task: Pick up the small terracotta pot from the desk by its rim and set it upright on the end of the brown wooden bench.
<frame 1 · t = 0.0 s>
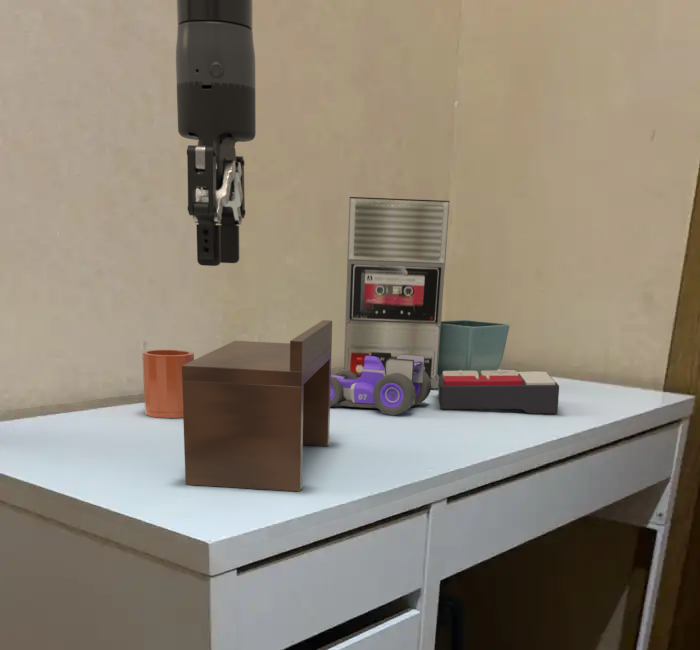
hand: (219, 264, 96), 17 cm above the table, tool pointing down, fingers open, 8 cm apart
pot: (170, 413, 111), on the table
flower pot: (463, 386, 141), on the table, touching cassette tape recorder
cassette tape recorder: (389, 386, 138), on the table, touching flower pot
brown wooden bench: (264, 462, 89), on the table
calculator: (494, 406, 125), on the table
toy race car: (364, 407, 121), on the table
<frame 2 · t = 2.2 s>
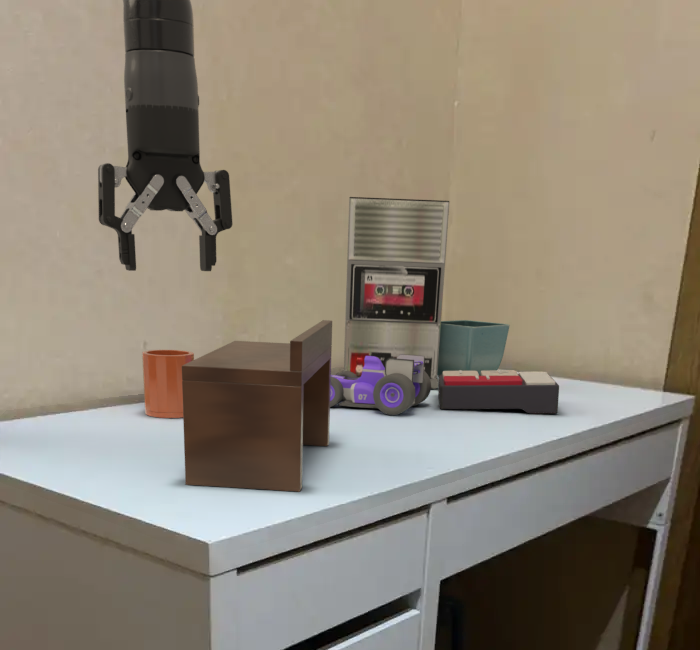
hand: (168, 270, 104), 16 cm above the table, tool pointing down, fingers open, 8 cm apart
nothing on the table moved.
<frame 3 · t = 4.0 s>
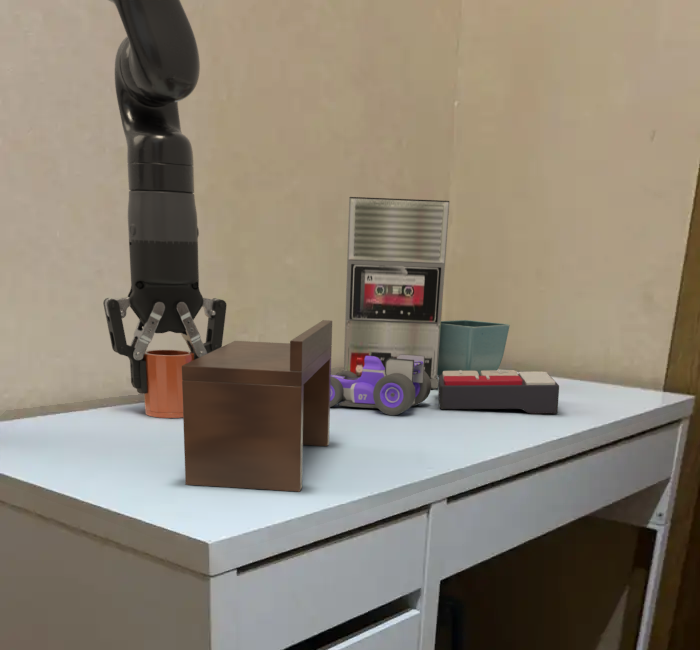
hand: (169, 391, 110), 3 cm above the table, tool pointing down, fingers closed on pot, 6 cm apart
pot: (170, 413, 111), on the table, touching gripper
everything else where it was.
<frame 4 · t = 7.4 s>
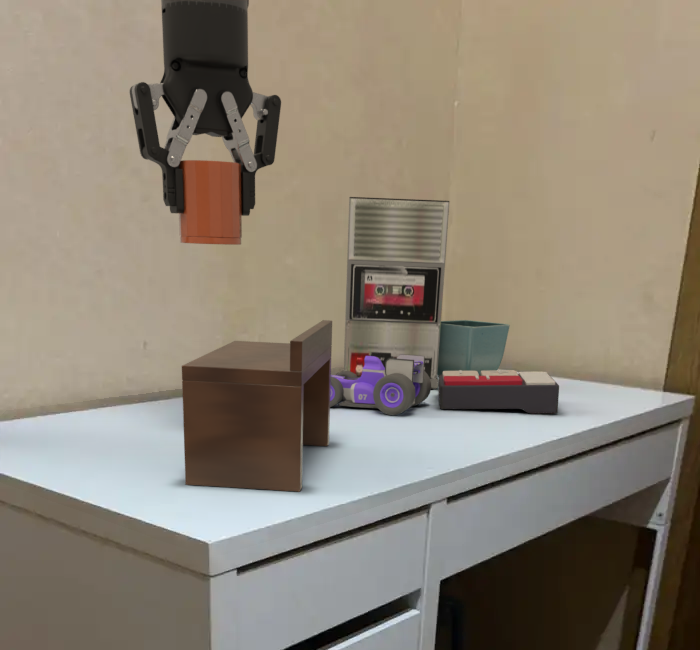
hand: (210, 213, 89), 22 cm above the table, tool pointing down, fingers closed on pot, 6 cm apart
pot: (210, 243, 90), point 19 cm above the table, touching gripper
everything else where it was.
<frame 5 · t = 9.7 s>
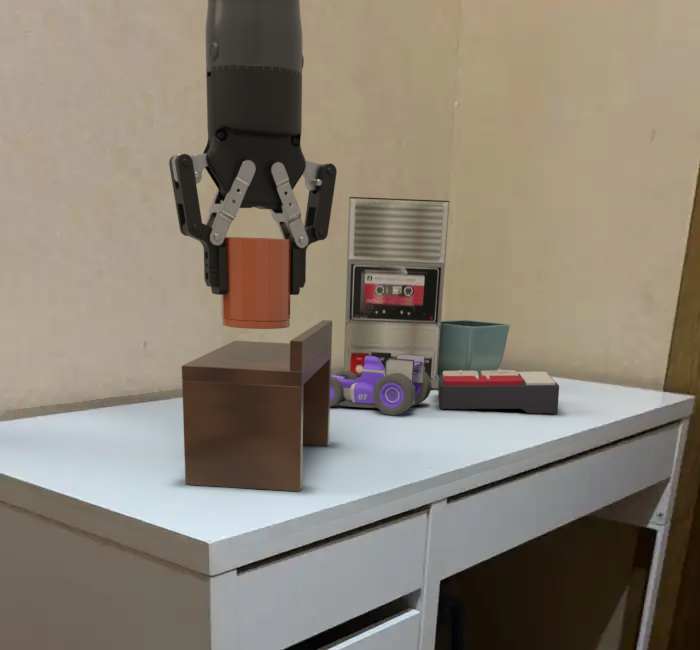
hand: (255, 293, 80), 15 cm above the table, tool pointing down, fingers closed on pot, 6 cm apart
pot: (255, 325, 81), point 13 cm above the table, touching gripper
everything else where it was.
when the fingers open (13 cm above the table, at t = 11.1 s): pot stays where it is, resting on brown wooden bench.
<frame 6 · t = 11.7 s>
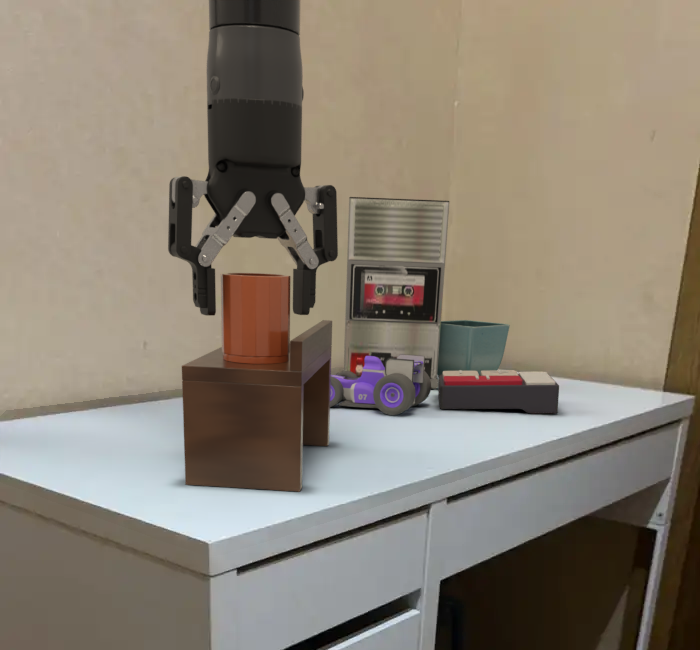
hand: (255, 314, 80), 14 cm above the table, tool pointing down, fingers open, 8 cm apart
pot: (255, 359, 82), point 10 cm above the table, touching brown wooden bench
everything else where it was.
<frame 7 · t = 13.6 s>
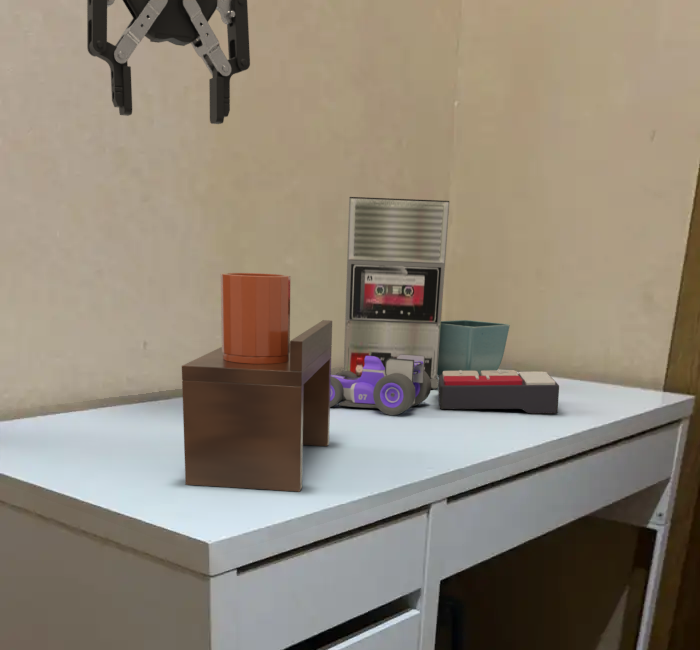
hand: (172, 119, 86), 30 cm above the table, tool pointing down, fingers open, 8 cm apart
nothing on the table moved.
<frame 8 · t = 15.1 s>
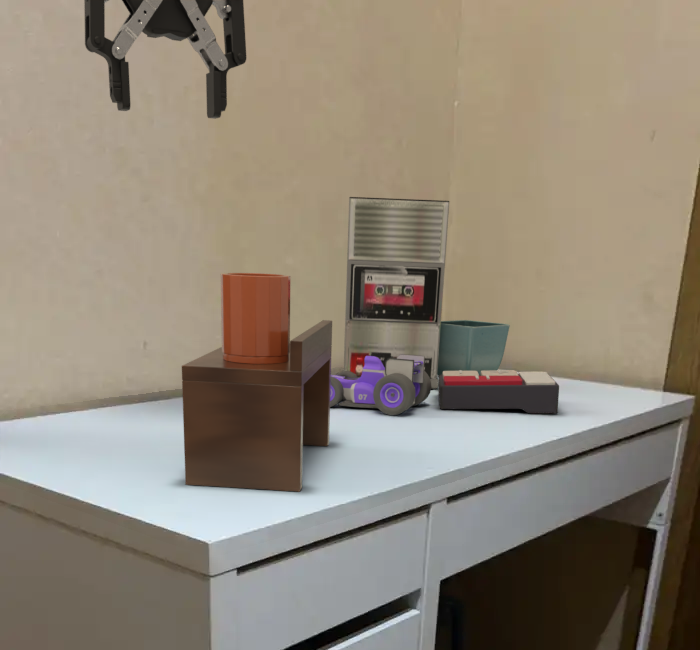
hand: (169, 114, 86), 30 cm above the table, tool pointing down, fingers open, 8 cm apart
nothing on the table moved.
at the end: pot inside the target area on the brown wooden bench (0.1 cm from its centre), point 10.0 cm above the brown wooden bench's base; pot tilted 0°; the gripper is holding nothing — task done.
